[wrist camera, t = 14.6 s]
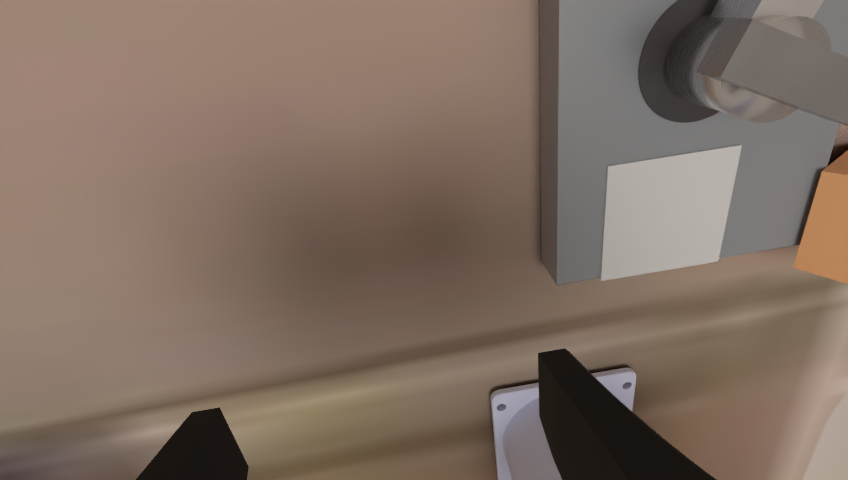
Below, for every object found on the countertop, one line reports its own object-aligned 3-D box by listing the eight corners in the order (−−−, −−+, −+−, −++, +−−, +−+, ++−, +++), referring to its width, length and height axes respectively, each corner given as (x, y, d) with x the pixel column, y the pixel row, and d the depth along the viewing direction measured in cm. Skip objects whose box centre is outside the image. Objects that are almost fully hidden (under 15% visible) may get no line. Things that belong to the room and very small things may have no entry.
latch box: (768, 225, 22) (805, 246, 20) (541, 263, 21) (557, 288, 20) (864, -154, 15) (933, -175, 13) (538, -106, 15) (561, -121, 13)
